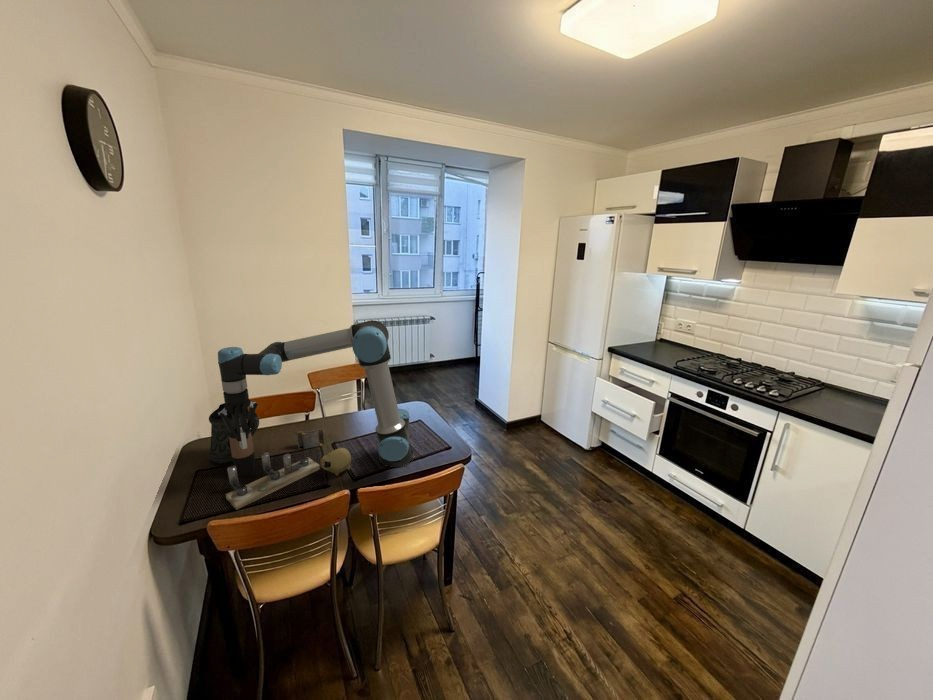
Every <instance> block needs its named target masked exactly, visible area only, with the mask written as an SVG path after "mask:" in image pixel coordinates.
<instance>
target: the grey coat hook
mask: <svg viewBox="0 0 933 700" xmlns="http://www.w3.org/2000/svg"><path fill="white" fill-rule="evenodd" d="M291 457H292V455H291V454H290V453H285V454H283V455H282V461H283V468H284V471H285V472H292V471H294V470H296V469H298V468H300V467H302V466H307V465H308V464H309V460H308V458H307V457H303V458H301V459H300V460H299V461H300V463H298V464H296V465H293V466H292V464H293V463H292V458H291Z"/></svg>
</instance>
